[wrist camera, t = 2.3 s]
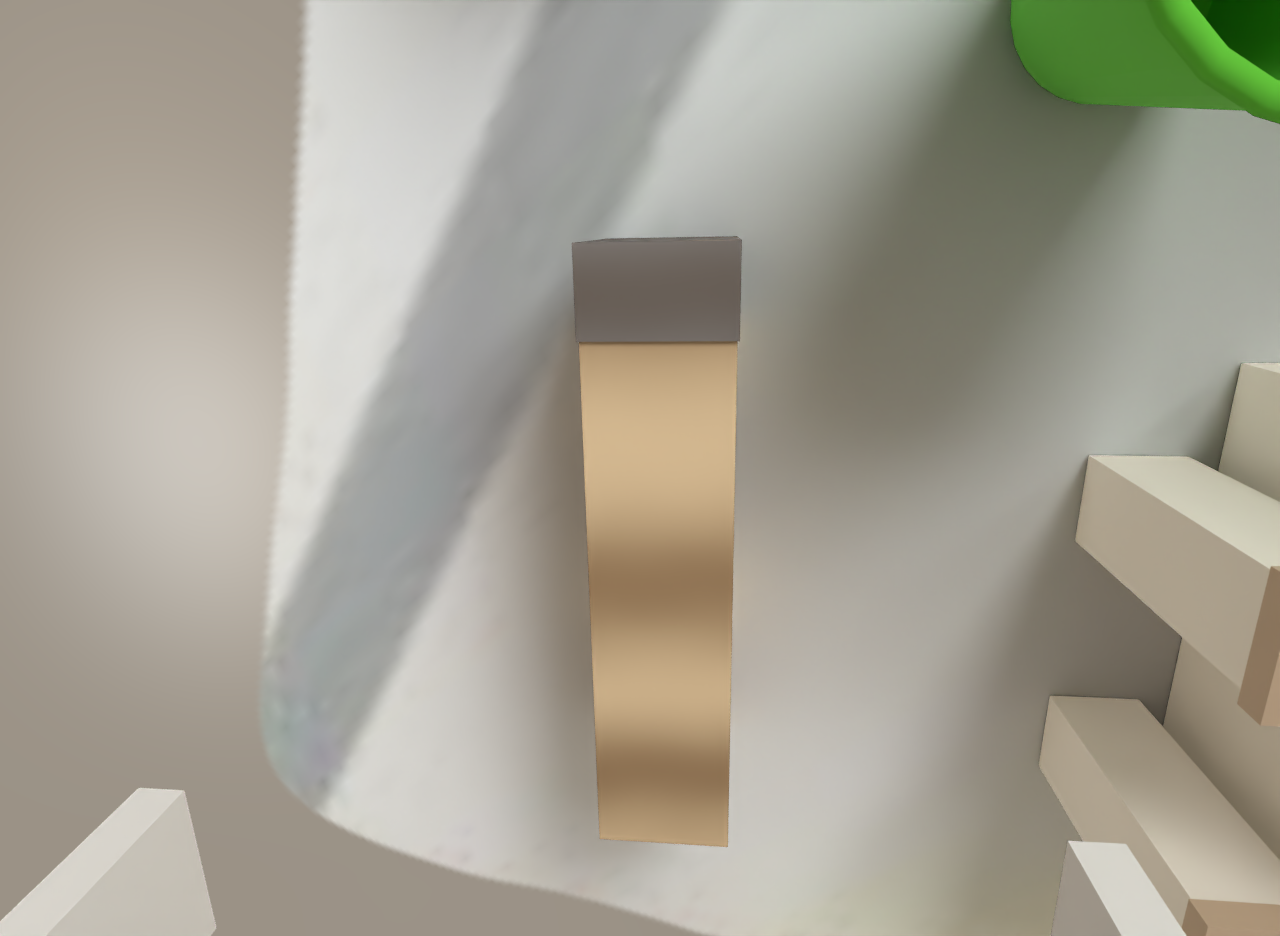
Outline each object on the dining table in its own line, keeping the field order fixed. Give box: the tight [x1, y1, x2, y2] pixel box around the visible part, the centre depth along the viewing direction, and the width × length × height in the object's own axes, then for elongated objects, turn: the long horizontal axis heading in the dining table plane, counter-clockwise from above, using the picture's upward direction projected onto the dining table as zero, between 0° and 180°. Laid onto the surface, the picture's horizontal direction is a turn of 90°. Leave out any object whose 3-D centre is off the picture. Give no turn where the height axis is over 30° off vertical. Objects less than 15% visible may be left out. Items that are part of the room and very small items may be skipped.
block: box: [572, 236, 742, 847], centre depth 24 cm, size 18×4×6 cm, turn 1°
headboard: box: [1039, 363, 1280, 936], centre depth 21 cm, size 18×6×12 cm, turn 1°
